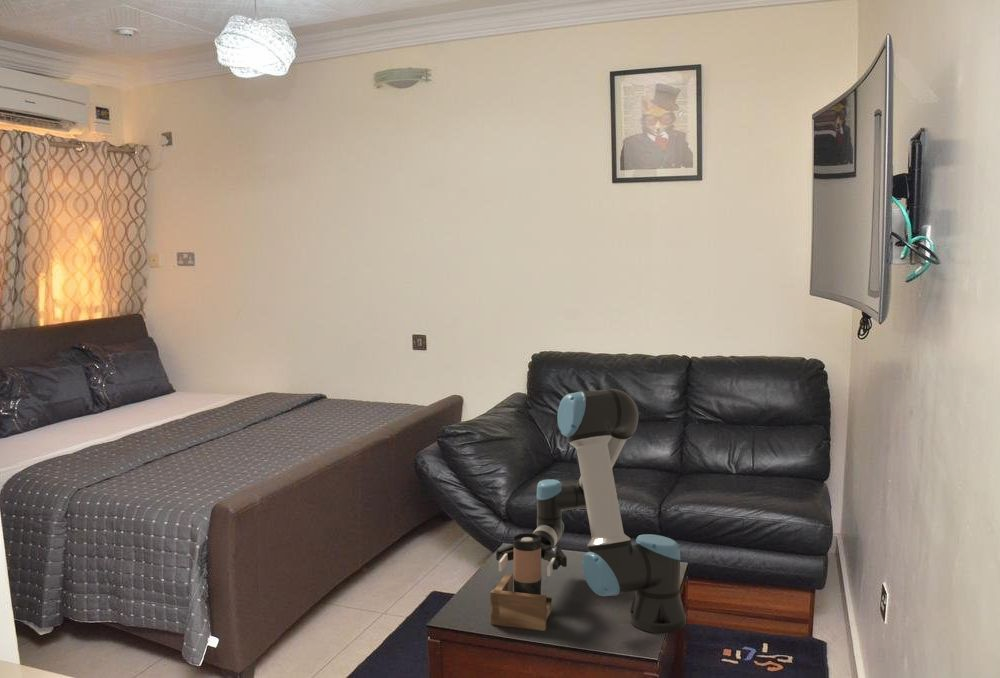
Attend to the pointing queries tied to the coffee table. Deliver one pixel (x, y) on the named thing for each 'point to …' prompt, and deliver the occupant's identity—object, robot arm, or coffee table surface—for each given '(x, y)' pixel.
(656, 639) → the coffee table surface
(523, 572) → the travel mug
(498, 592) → the wooden holder
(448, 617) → the coffee table surface
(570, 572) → the coffee table surface
